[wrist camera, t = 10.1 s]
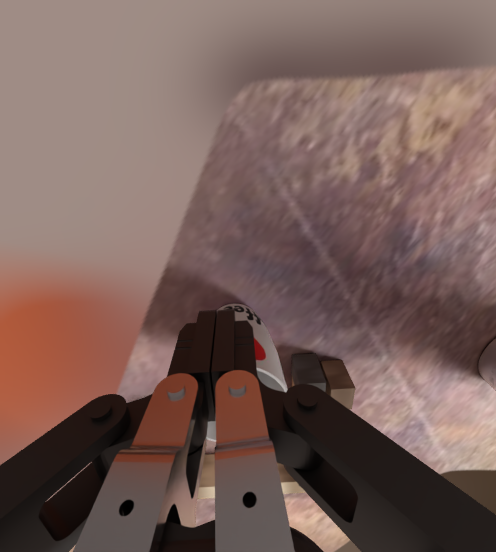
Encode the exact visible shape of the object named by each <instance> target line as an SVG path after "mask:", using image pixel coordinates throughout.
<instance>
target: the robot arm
mask: <svg viewBox="0 0 496 552" xmlns="http://www.w3.org/2000/svg"><path fill="white" fill-rule="evenodd" d="M479 372H480V375H481V376H482V377H483V379H484V380H485V381H486V382H487V383H488V384H489V385H490V386H491V387H492V388H493V389H494V390H495V391H496V338H495V339H494V340H493V341H492V342H491V343H490V344H489V345H488V346H487V348H486V349H485V350H484V352H483V353H482V355H481V357H480V360H479ZM210 421H216V447H215V520H213V521H210V522H208V523H205V524H203V525H200V526H197V527H196V505H197V498H198V492H199V486H200V480H201V475H202V469H203V463H204V457H205V451H206V445H207V439H206V436H207V428H208V422H210ZM90 462H92V463H91V464H90V465H88V464H89V463H90ZM277 463H280V464H283V465H284V468H285V469H286V471H287V472H288V473H289V475H290V476H291V477H292V478H293V479H294V480H295V481H296V482H297V483H298V484H299V485H300V486H301V487H302V488H303V490H304V491H305V492H306V493H307V494H308V495H309V496H310V497H311V498H312V499H313V500H314V501H315V502H316V503H317V504H318V506H319V507H320V508H321V509H322V510H323V511H324V512H325V513H326V514H327V515H328V516H329V517H330V518H331V519H332V521H333V522H334V523H335V524H336V525H337V526H338V527H339V528H340V529H341V530H342V531H343V532H344V533H345V534H346V536H347V537H348V538H349V539H350V540H351V541H352V542H353V543H354V544H355V545H356V546H357V547H358V548H359V549H360V551H361V552H496V515H495V514H494V513H492V512H491V511H489V510H488V509H487V508H485V507H484V506H483V505H481V504H480V503H478V502H477V501H476V500H474V499H473V498H471V497H470V496H469V495H467V494H466V493H464V492H463V491H462V490H460V489H459V488H458V487H456V486H455V485H453V484H452V483H451V482H449V481H448V480H446V479H445V478H444V477H442V476H441V475H439V474H438V473H437V472H435V471H434V470H433V469H431V468H430V467H428V466H427V465H426V464H424V463H423V462H421V461H420V460H419V459H417V458H416V457H414V456H413V455H412V454H410V453H409V452H408V451H406V450H405V449H403V448H402V447H401V446H399V445H398V444H396V443H395V442H394V441H392V440H391V439H389V438H388V437H387V436H385V435H384V434H382V433H381V432H380V431H378V430H377V429H376V428H374V427H373V426H371V425H370V424H369V423H367V422H366V421H364V420H363V419H362V418H360V417H359V416H357V415H356V414H355V413H353V412H352V411H351V410H349V409H348V408H346V407H345V406H344V405H342V404H341V403H339V402H338V401H337V400H335V399H334V398H332V397H331V396H330V395H328V394H327V393H326V392H324V391H323V390H321V389H320V388H318V387H316V386H313V385H310V384H298V385H295V386H292V387H291V388H289V389H288V390H287V392H283V391H278V390H274V389H272V388H269V387H267V386H266V385H264V384H263V383H262V382H261V381H260V379H259V377H258V375H257V367H256V356H255V345H254V334H253V327H252V326H251V324H250V323H249V322H248V321H247V320H244V321H235V309H230V310H218V311H217V310H212V311H199V314H198V319H197V323H188V324H186V325H185V326H184V327H183V329H182V330H181V331H180V333H179V336H178V340H177V343H176V347H175V350H174V354H173V357H172V361H171V364H170V368H169V372H168V375H167V377H166V378H164V379H163V380H162V381H161V382H160V383H159V384H158V385H157V386H156V388H155V390H154V392H153V394H151V395H149V396H147V397H144V398H142V399H139V400H135V401H132V402H129V403H126V401H125V399H124V398H123V397H122V396H120V395H116V394H108V395H103V396H101V397H98V398H96V399H94V400H92V401H91V402H89V403H88V404H86V405H85V406H83V407H82V408H81V409H79V410H78V411H76V412H75V413H74V414H72V415H71V416H69V417H68V418H67V419H65V420H64V421H62V422H61V423H60V424H58V425H57V426H55V427H54V428H52V429H51V430H50V431H48V432H47V433H45V434H44V435H43V436H41V437H40V438H39V439H37V440H35V441H34V442H33V443H31V444H30V445H28V446H27V447H26V448H24V449H23V450H21V451H20V452H19V453H17V454H16V455H15V456H13V457H12V458H10V459H9V460H7V461H6V462H4V463H3V464H2V465H0V552H69V551H70V550H71V549H72V548H73V547H74V546H75V545H76V546H75V548H74V550H73V552H323V551H322V550H321V549H320V548H319V547H318V546H317V545H316V544H315V543H314V542H313V541H312V540H311V539H309V538H308V537H307V536H306V535H304V534H302V533H301V532H299V531H298V530H296V529H294V528H292V527H290V526H289V521H288V516H287V511H286V506H285V501H284V496H283V491H282V486H281V481H280V476H279V471H278V466H277ZM87 465H88V466H87ZM86 466H87V467H86ZM84 467H86V468H85V469H84V470H83V471H81V470H82V469H83V468H84ZM80 471H81V472H80ZM78 472H80V473H79V474H78V475H77V476H76V477H75V478H73V477H74V476H75V475H76V474H77V473H78ZM71 478H73V479H72V480H71V481H70V482H69V483H68V484H66V483H67V482H68V481H69V480H70V479H71ZM65 484H66V486H64V485H65ZM62 486H64V487H63V488H62V489H61V490H60V491H58V490H59V489H60V488H61V487H62ZM57 491H58V492H57ZM55 492H57V493H56V494H55V495H54V496H53V497H52V498H50V497H51V496H52V495H53V494H54V493H55ZM49 498H50V499H49ZM48 499H49V500H48ZM47 500H48V501H47Z"/></svg>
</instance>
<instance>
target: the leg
mask: <svg viewBox="0 0 496 552" xmlns="http://www.w3.org/2000/svg"><path fill="white" fill-rule="evenodd" d="M298 384H310V385H313V386H316V387H318V388H320V389H321V390H323V391H324V392H325V390H326V381H325V378H324V375H323V372H322V370H321V367H320V364H319V361H318V358H317V356H316V353H315V354H299V355H292V386H295V385H298ZM298 485H299V484H298ZM299 486H300V485H299ZM300 487H301V486H300ZM301 488H302V487H301Z"/></svg>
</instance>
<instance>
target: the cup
mask: <svg viewBox="0 0 496 552" xmlns="http://www.w3.org/2000/svg"><path fill="white" fill-rule="evenodd" d="M230 309H235V321H244V320H247V321H248V322H249V323H250V324H251V326H252V327H253V334H254V345H255V356H256V367H257V375H258V377H259V379H260V381H261V382H262V383H263V384H264V385H266V386H267V387H269V388H272V389H274V390H278V391H283V392H287V390H288V389H287V385H286V381H285V378H284V374H283V370H282V367H281V363H280V359H279V356H278V353H277V350H276V348H275V346H274V344H273V341H272V339H271V337H270V334H269V332H268V330H267V328H266V326H265V325H264V323H263V322H262V321H261V319H260V318H259V317H258V315H257V314H256V313H255V311H254V310H252V309H251V308H250V307H248V306H246V305H242V304H228V305H225V306H222V307H221V308H219V309H218V310H230ZM218 310H217V311H218ZM206 439H208V440H211V441H215V442H216V421H210V422H208V428H207V436H206Z"/></svg>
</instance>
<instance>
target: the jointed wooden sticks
mask: <svg viewBox="0 0 496 552" xmlns="http://www.w3.org/2000/svg"><path fill="white" fill-rule="evenodd" d="M320 367H321V370H322V372H323V375H324V378H325V381H326V390H325V392H326V393H327V394H328V395H330V396H331V397H332V398H334V399H335V400H337V401H338V402H339V403H341V404H342V405H344V406H345V407H346V408H348V409H352V404H353V399H354V393H355V386H354V384H353V382H352V380H351V378H350V376H349V374H348V371H347V369H346V367H345V365H344V363H343V361H342V360H331V361H321V364H320ZM277 466H278V471H279V476H280V481H281V486H282V491H283V494H291V493H306V492H305V491H304V490H303V488H301V487H300V486H299V485H298V483H297V482H296V481H295V480H294V479H293V478H292V477H291V476H290V475H289V473H288V472H287V471H286V469H285V468H284V465H283V464H280V463H277ZM207 498H215V454H208V455H205V457H204V463H203V469H202V475H201V480H200V486H199V492H198V498H197V499H207Z"/></svg>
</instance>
